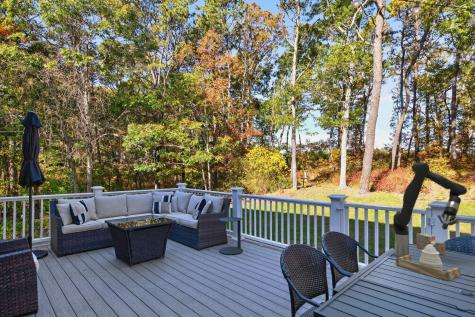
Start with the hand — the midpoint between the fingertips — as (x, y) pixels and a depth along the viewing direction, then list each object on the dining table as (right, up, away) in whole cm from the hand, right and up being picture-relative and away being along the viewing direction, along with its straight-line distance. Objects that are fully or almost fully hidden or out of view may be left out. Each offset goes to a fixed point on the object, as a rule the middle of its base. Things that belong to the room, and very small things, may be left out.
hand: (444, 228), depth 196 cm
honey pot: (-19, -24, -13) cm, 33 cm away
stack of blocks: (+10, -26, +28) cm, 39 cm away
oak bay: (-23, -24, -15) cm, 37 cm away
